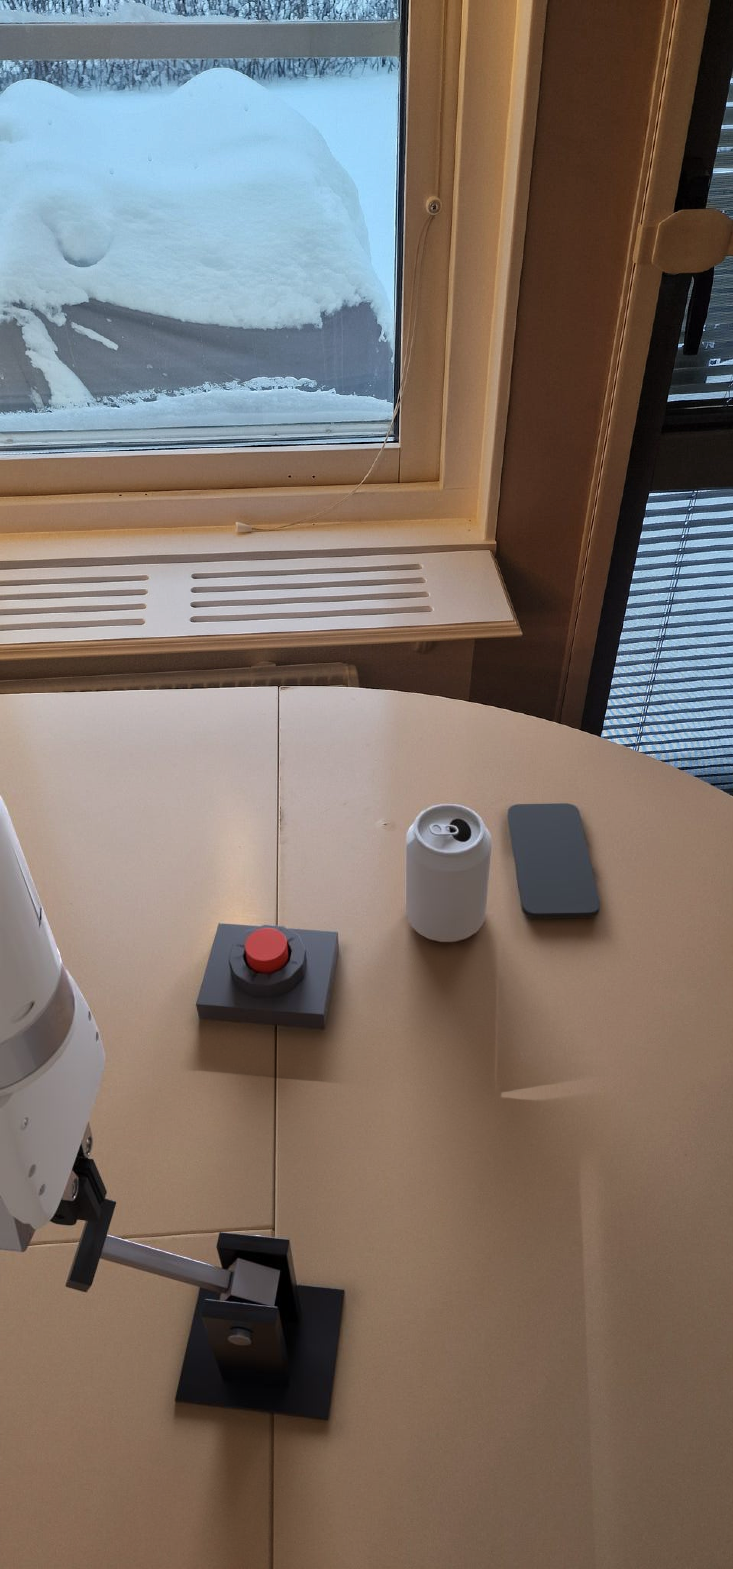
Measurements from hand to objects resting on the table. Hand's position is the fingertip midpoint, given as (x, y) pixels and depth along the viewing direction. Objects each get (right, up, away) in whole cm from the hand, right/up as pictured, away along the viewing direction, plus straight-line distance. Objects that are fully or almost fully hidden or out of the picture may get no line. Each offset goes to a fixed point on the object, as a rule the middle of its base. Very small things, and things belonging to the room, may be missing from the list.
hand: (76, 1204), depth 57 cm
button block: (+8, +6, +35) cm, 36 cm away
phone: (+34, +16, +45) cm, 59 cm away
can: (+24, +11, +40) cm, 48 cm away
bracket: (+9, -15, +12) cm, 21 cm away
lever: (+4, -6, +5) cm, 9 cm away
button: (+8, +8, +32) cm, 34 cm away
